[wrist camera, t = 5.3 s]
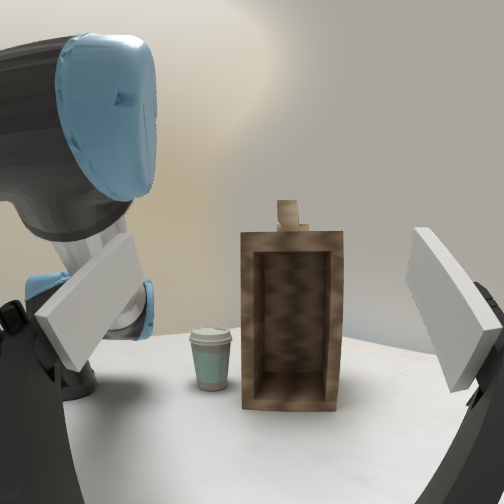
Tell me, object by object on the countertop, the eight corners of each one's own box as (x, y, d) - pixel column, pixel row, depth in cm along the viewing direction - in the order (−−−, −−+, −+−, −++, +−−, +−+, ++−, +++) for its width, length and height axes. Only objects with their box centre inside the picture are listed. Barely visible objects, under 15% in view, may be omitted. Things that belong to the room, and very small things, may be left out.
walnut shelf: (242, 408, 46) (240, 222, 47) (256, 376, 62) (256, 232, 63) (335, 411, 43) (342, 221, 44) (329, 377, 59) (332, 231, 60)
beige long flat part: (262, 220, 33) (262, 200, 33) (280, 239, 61) (280, 228, 61) (312, 219, 32) (312, 199, 32) (307, 238, 60) (307, 228, 60)
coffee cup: (230, 395, 52) (229, 336, 52) (187, 392, 52) (183, 334, 52) (235, 378, 60) (234, 326, 60) (197, 376, 61) (194, 325, 61)
